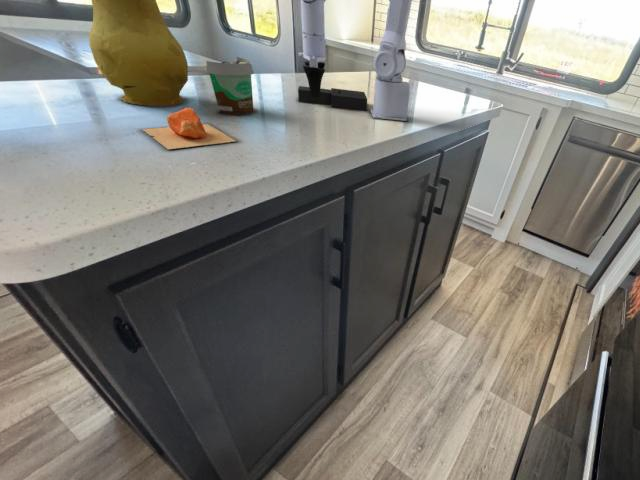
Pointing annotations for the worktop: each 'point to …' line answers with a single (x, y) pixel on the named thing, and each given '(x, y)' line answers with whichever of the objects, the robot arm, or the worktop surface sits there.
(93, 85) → the worktop surface
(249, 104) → the food container
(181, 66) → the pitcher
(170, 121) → the rock
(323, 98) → the black pad
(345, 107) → the graphite pad
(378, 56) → the robot arm
